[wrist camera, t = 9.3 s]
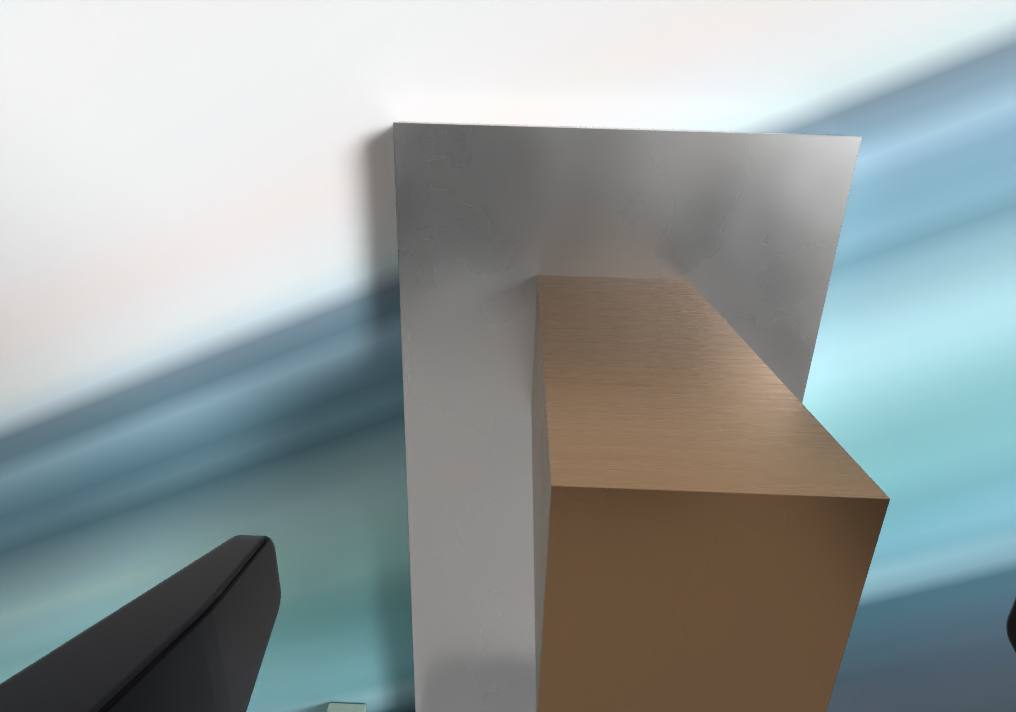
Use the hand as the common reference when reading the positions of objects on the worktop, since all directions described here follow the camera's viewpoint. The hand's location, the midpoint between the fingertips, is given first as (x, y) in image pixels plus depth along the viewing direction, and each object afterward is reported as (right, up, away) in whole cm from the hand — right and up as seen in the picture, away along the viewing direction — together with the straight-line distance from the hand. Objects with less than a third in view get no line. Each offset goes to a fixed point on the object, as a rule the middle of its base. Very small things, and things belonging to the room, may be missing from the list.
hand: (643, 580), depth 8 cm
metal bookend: (0, 0, +7) cm, 7 cm away
